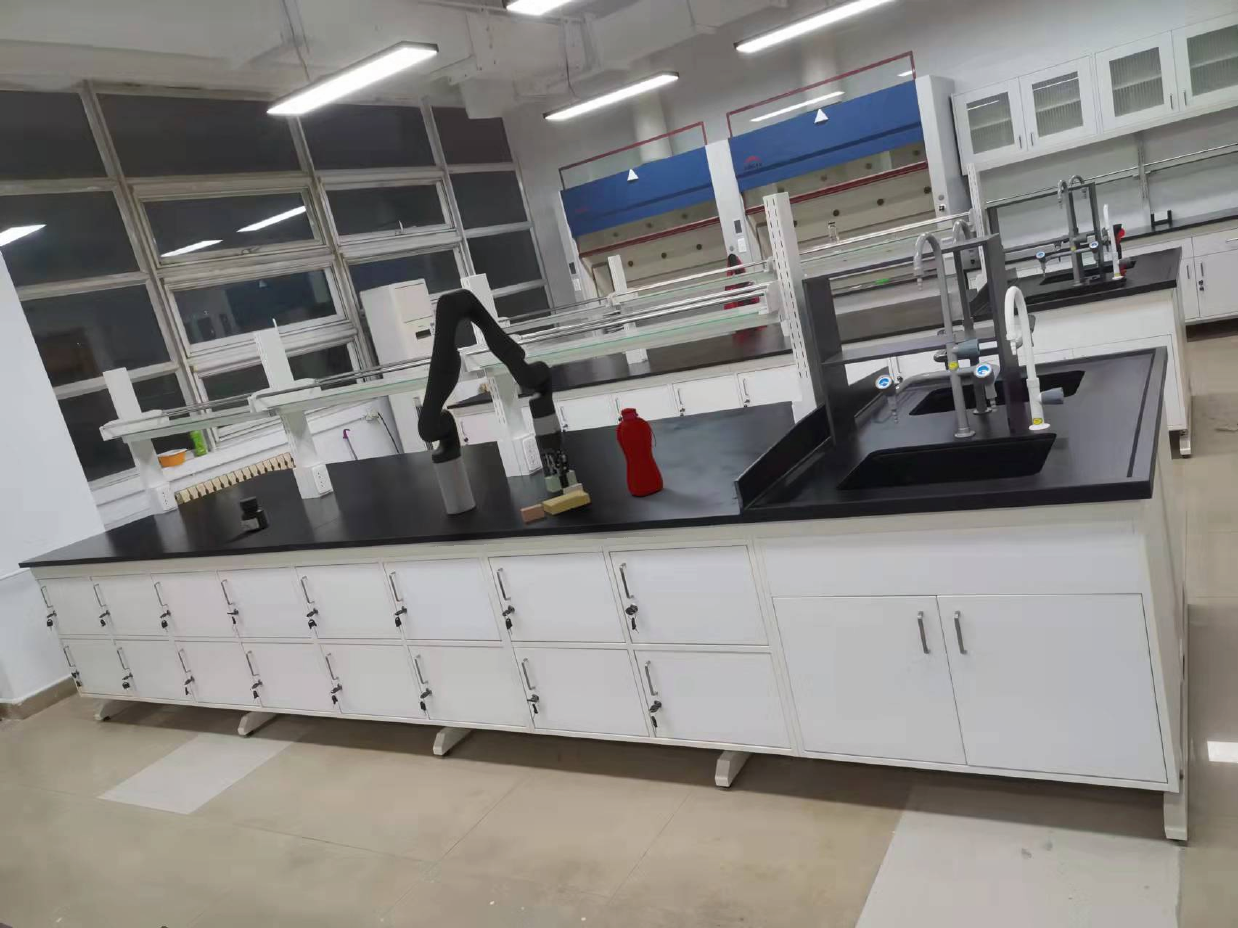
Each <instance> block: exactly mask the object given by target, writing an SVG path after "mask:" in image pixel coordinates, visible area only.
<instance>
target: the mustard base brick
mask: <svg viewBox="0 0 1238 928" xmlns="http://www.w3.org/2000/svg"><path fill="white" fill-rule="evenodd" d="M583 491H584V490H583ZM583 491H580V490H578V491H574V492H571V493H568V494H565V495H564V494H563V495H560V496H556V497H554V498H551V499H547V500H544V501H542V503H541V504H542V507H543V511H545V512H547V513H548V514H551V515H553V516H554V515H556V514H560V513H562V512H565V511H568V510H571V508H572V509H574V508H578V507H581V506H583V505H587V504H589V503H591V498H590V495H589V493H587V492H585V491H584V492H583Z"/></svg>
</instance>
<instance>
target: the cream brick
mask: <svg viewBox="0 0 1238 928" xmlns="http://www.w3.org/2000/svg"><path fill="white" fill-rule="evenodd" d="M578 490H580V491H583V492H585V490H584V489H583V483H579V482H577V484H576V485H573V486H570V487H567V488H564V489H562V492H563V495H565V494H568V493H571V492H574V491H578Z"/></svg>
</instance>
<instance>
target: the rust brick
mask: <svg viewBox="0 0 1238 928" xmlns="http://www.w3.org/2000/svg"><path fill="white" fill-rule="evenodd" d="M544 511H545V510H544V507H543V504H542V503H538V504H534V505H531V506H526V507H523V508H521V509H520V512H521V515H522V520H523V523H528V522H531V521H534V519H535V520H538V519H542V518H544V517H545V513H544Z"/></svg>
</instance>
